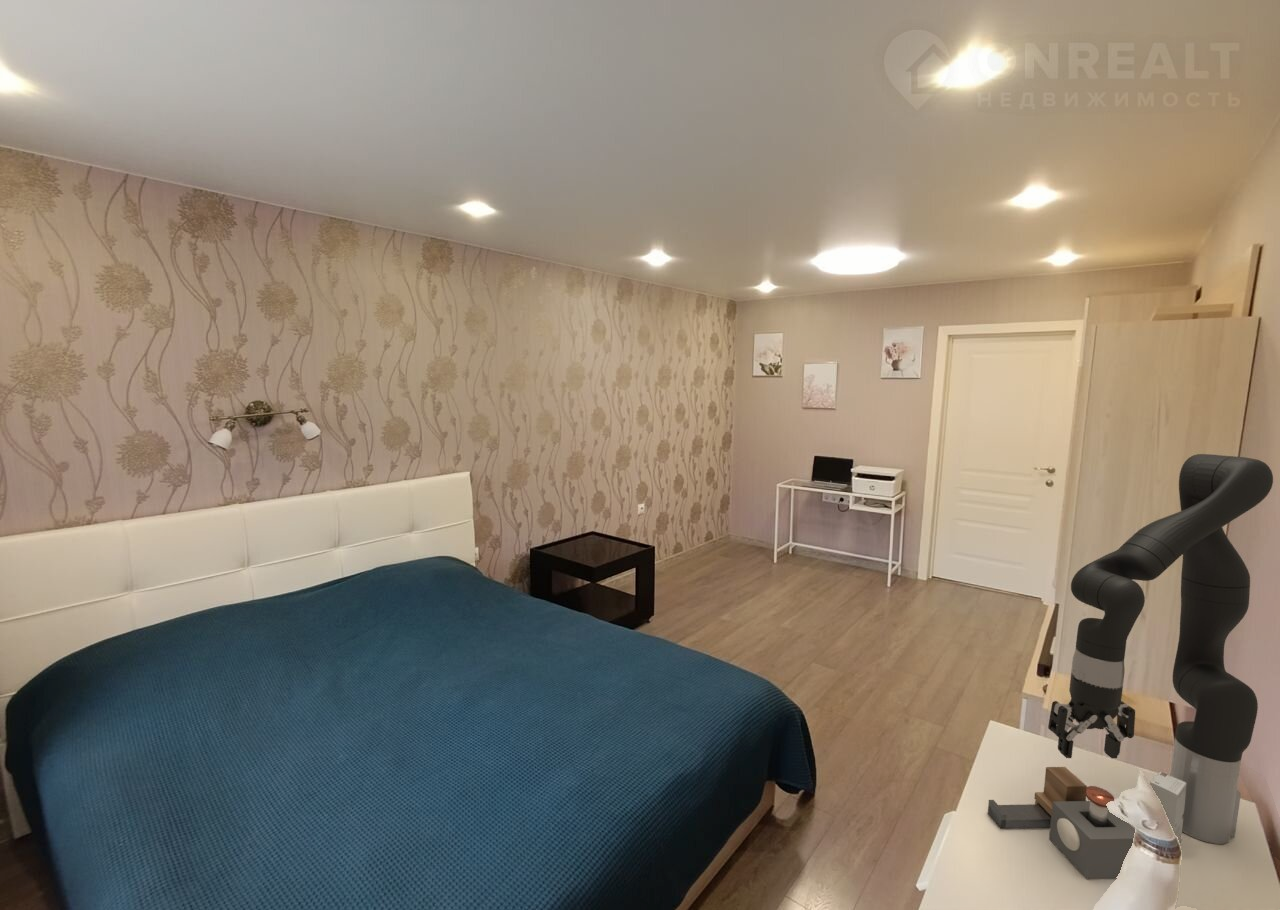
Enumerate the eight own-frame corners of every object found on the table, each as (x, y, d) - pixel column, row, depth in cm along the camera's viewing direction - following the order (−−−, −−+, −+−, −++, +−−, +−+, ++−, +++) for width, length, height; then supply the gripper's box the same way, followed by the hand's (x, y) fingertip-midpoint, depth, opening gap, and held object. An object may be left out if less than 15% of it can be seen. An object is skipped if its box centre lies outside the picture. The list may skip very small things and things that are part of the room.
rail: (1082, 812, 116) (1084, 798, 115) (1098, 827, 112) (1100, 813, 111) (987, 813, 115) (988, 799, 115) (1000, 829, 111) (1001, 814, 111)
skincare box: (1172, 854, 105) (1180, 796, 104) (1141, 838, 109) (1148, 782, 107) (1182, 839, 109) (1189, 783, 107) (1152, 824, 112) (1159, 769, 111)
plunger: (1097, 820, 106) (1101, 785, 105) (1116, 837, 102) (1120, 801, 101) (1077, 820, 106) (1080, 786, 105) (1094, 837, 102) (1098, 801, 101)
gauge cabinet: (1099, 837, 109) (1103, 800, 108) (1140, 878, 100) (1145, 838, 99) (1046, 838, 109) (1050, 801, 108) (1084, 879, 100) (1088, 839, 99)
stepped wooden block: (1066, 806, 117) (1070, 765, 116) (1091, 831, 110) (1096, 787, 109) (1033, 807, 117) (1037, 765, 115) (1056, 831, 110) (1061, 788, 109)
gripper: (1118, 666, 107) (1109, 743, 110) (1044, 665, 108) (1036, 742, 110) (1153, 687, 100) (1142, 769, 102) (1073, 686, 100) (1064, 768, 102)
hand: (1087, 755), depth 106 cm, fingers open, 8 cm apart
